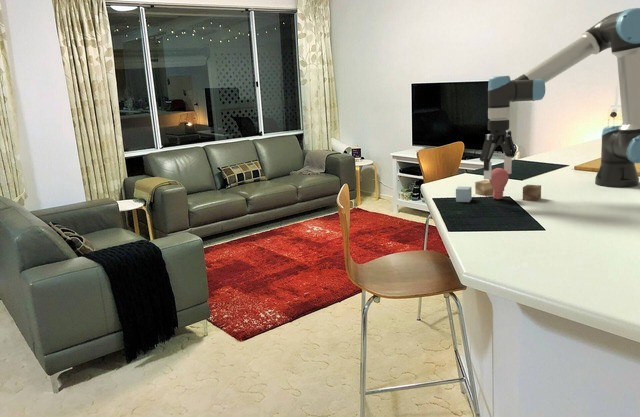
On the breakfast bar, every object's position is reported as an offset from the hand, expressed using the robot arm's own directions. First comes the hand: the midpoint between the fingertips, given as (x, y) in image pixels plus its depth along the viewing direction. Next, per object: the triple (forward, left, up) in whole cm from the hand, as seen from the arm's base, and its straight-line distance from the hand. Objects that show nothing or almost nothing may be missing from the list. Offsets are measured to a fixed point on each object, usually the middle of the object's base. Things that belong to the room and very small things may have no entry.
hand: (497, 176), depth 192 cm
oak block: (+10, -6, -9) cm, 15 cm away
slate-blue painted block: (+10, +8, -9) cm, 15 cm away
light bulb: (0, 0, -9) cm, 9 cm away
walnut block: (-10, -6, -9) cm, 15 cm away
